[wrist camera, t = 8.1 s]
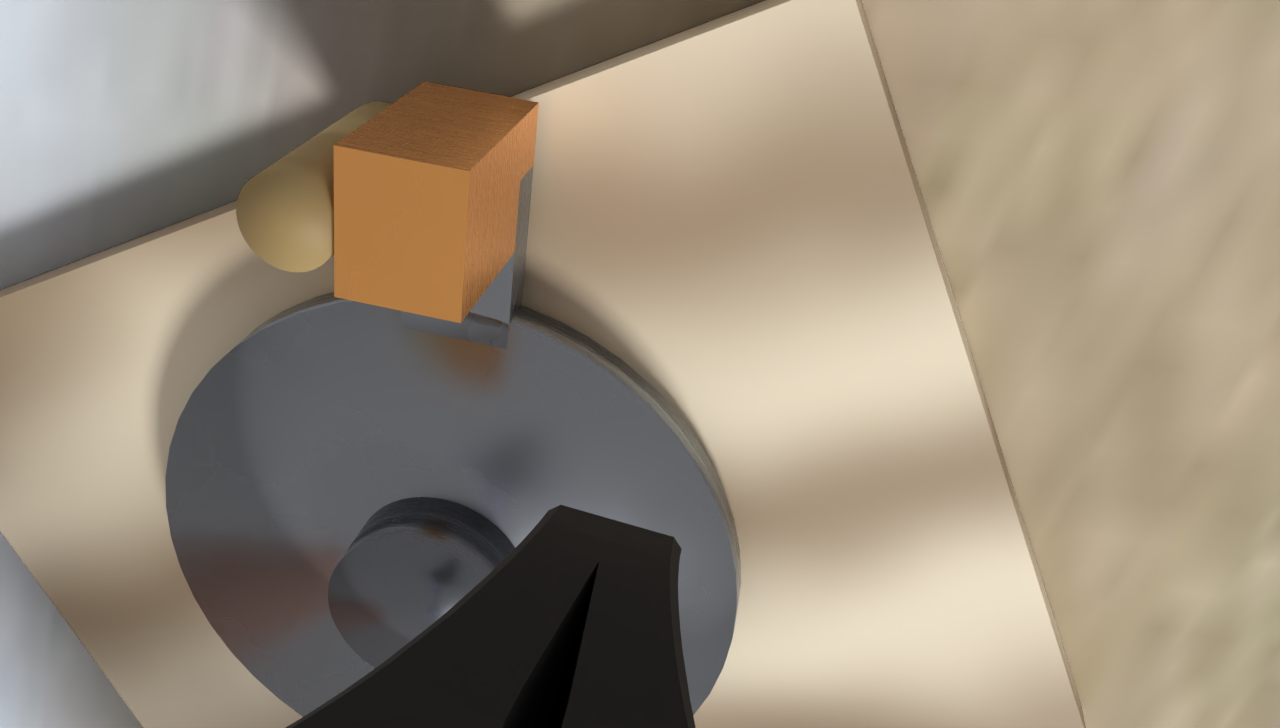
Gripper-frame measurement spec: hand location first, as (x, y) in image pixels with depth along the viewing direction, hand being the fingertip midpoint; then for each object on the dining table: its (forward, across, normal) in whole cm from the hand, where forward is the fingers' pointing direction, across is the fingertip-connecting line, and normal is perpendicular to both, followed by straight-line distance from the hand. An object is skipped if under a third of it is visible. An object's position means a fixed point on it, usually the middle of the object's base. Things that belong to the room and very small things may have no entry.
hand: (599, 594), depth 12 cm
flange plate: (+9, +4, +6) cm, 11 cm away
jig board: (+10, +4, +8) cm, 13 cm away
